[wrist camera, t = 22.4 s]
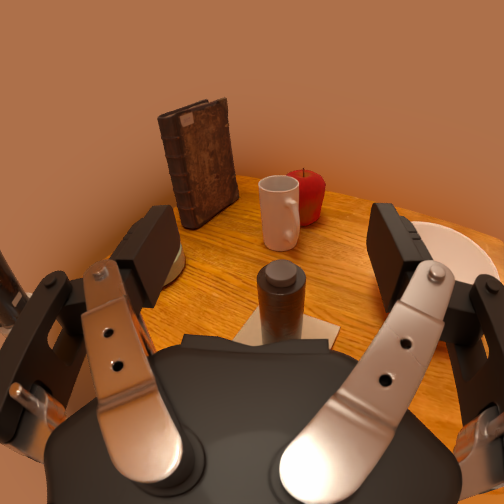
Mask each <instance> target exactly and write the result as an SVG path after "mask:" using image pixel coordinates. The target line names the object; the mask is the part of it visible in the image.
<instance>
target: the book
mask: <svg viewBox="0 0 504 504" xmlns="http://www.w3.org/2000/svg"><path fill="white" fill-rule="evenodd" d="M158 124H159V127H160V132H161V139H162V140H163V145H164V150H165V156H166V159H167V163H168V168H169V174H170V176H171V180H172V185H173V191H174V193H175V197H176V202H177V207H178V210H179V215H180V219H181V224H182V225H183V226H184V227H187V228H195V229H196V228H199V227H200V226H202V225H203V224H205V223H206V222H208V220H209V219H210V218H212V217H213V216H214V215H216V214H217V213H218V212H220V211H221V210H222V209H224V208H225V207H227V206H228V205H230V204H232V203H233V202H235V201H236V200H237V199H238V198H239V192H238V185H237V182H236V177H235V176H236V174H235V169H234V163H233V155H232V149H231V141H230V134H229V123H228V106H227V98H225V97H224V98H221V99H218V100H216V101H213V102H210V103H209V102H208V100H207V99H205V100H201V101H199V102H196V103H193V104H191V105H188V106H185V107H182V108H179V109H177V110H174V111H171V112H167V113H165V114H162V115H160V116H159V117H158Z"/></svg>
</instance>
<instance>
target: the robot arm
mask: <svg viewBox="0 0 504 504" xmlns="http://www.w3.org/2000/svg"><path fill="white" fill-rule="evenodd" d="M366 245H367V252H368V255H369V258H370V261H371V264H372V267H373V270H374V273H375V277H376V280H377V283H378V286H379V290H380V293H381V297H382V300H383V304H384V307H385V311H386V313H390V314H389V315H388V317H387V319H386V320H385V322H384V323H383V325H382V327H381V328H380V330H379V332H378V333H377V335H376V336H375V338H374V339H373V341H372V343H371V344H370V346H369V347H368V349H367V350H366V352H365V353H364V355H363V356H362V357H361V359H360V360H359V361H357V360H356V359H354V358H352V357H351V356H348V355H346V354H344V353H341V352H338V351H335V350H330V349H329V339H290V340H285V341H280V342H275V343H270V344H264V345H259V346H250V345H246V344H242V343H239V342H235V341H231V340H228V339H224V338H221V337H218V336H203V335H190V334H184V336H183V339H182V342H181V344H179V345H175V346H170V347H167V348H165V349H162V350H160V351H158V352H157V351H156V349H155V347H154V344H153V342H152V340H151V337H150V335H149V332H148V330H147V327H146V325H145V322H144V320H143V317H142V315H141V313H140V311H141V309H142V307H144V308H154V306H155V304H156V302H157V299H158V297H159V295H160V292H161V290H162V288H163V285H164V283H165V281H166V279H167V276H168V274H169V272H170V270H171V267H172V265H173V263H174V261H175V259H176V256H177V254H178V252H179V249H180V235H179V231H178V227H177V224H176V220H175V216H174V212H173V208H172V207H171V206H170V205H160V206H152V208H150V210H149V211H148V213H147V214H146V215H145V217H144V218H141V219H140V220H139V221H137V222H136V223H135V224H134V225H132V227H131V228H130V230H129V231H128V232H127V234H126V235H125V237H124V238H123V240H122V241H121V242H120V244H119V245H118V246H117V248H116V250H115V251H114V252H113V254H112V255H111V257H110V258H109V259H107V260H101V261H99V262H97V263H95V264H93V265H91V266H90V267H89V268H88V269H87V270H86V272H85V273H84V275H83V278H79V279H75V280H71V281H69V279H68V277H67V276H66V274H65V272H63V271H55V272H52V273H50V274H48V275H47V276H46V277H45V278H43V279H42V281H41V282H40V283H39V285H38V286H37V288H36V289H35V291H34V292H33V294H32V296H31V297H30V298H29V297H28V296H27V294H26V293H25V292H24V290H23V288H22V287H21V285H20V284H19V282H18V281H17V279H16V277H15V275H14V274H13V272H12V270H11V269H10V267H9V265H8V264H7V262H6V260H5V258H4V257H3V255H2V253H1V251H0V327H4V328H5V329H11V328H12V329H11V331H10V333H9V334H8V336H7V338H6V340H5V342H4V344H3V346H2V348H1V350H0V443H1V444H3V445H4V446H6V447H8V448H9V449H11V450H13V451H15V452H17V453H19V454H21V455H23V456H27V457H28V458H30V459H33V460H34V461H37V462H39V463H42V464H44V467H45V473H46V481H47V504H457V503H458V501H460V500H463V499H466V498H469V497H471V496H474V495H477V494H483V493H486V492H489V491H492V490H495V489H498V488H501V487H503V486H504V285H503V284H502V283H501V282H500V281H499V280H498V279H497V278H495V277H493V276H491V275H488V274H480V275H478V276H477V277H476V279H475V281H474V283H473V285H472V284H468V283H464V282H460V281H457V280H455V277H454V275H453V273H452V271H451V270H450V269H449V268H448V267H447V266H445V265H444V264H442V263H440V262H437V261H434V260H433V258H432V256H431V254H430V253H429V251H428V249H427V247H426V245H425V244H424V242H423V240H421V237H420V235H419V233H417V230H416V228H415V227H414V225H413V223H411V222H410V221H409V220H408V219H406V218H405V217H404V216H399V214H398V213H397V211H396V209H395V208H394V206H393V204H390V203H373V205H372V208H371V214H370V220H369V226H368V232H367V240H366ZM55 320H57V321H58V322H59V324H60V325H61V326H62V328H63V329H62V330H61V332H60V334H59V336H58V339H57V341H56V343H55V345H54V347H53V349H51V348H50V347H49V345H48V341H47V337H48V333H49V331H50V329H51V327H52V325H53V323H54V322H55ZM483 334H484V335H485V338H486V341H487V344H488V347H489V357H488V359H487V356H486V352H485V349H484V346H483V343H482V340H481V337H482V336H483ZM438 341H444V342H446V346H447V349H448V353H449V357H450V361H451V365H452V370H453V374H454V378H455V383H456V388H457V393H458V399H459V404H460V411H461V417H462V424H463V428H462V429H461V430H460V432H459V434H458V436H457V440H456V445H455V447H454V450H453V453H454V455H453V453H452V452H451V451H450V450H449V449H448V448H447V447H446V446H445V445H444V444H443V443H442V442H441V441H440V440H439V439H438V438H437V437H436V436H435V435H434V434H433V433H432V432H431V431H430V430H429V429H428V428H427V427H426V426H425V425H424V424H423V423H422V422H421V421H420V420H419V419H418V418H417V417H416V416H415V415H414V414H413V413H412V412H411V411H410V410H409V409H408V407H409V405H410V403H411V401H412V399H413V397H414V395H415V393H416V391H417V389H418V387H419V385H420V383H421V381H422V379H423V377H424V374H425V372H426V370H427V368H428V365H429V363H430V361H431V358H432V356H433V354H434V351H435V349H436V346H437V344H438ZM86 353H87V357H88V362H89V367H90V371H91V376H92V380H93V384H94V388H95V392H96V396H97V397H96V398H94V399H93V400H92V401H90V402H89V403H88V404H87V405H85V406H84V407H82V408H81V409H80V410H78V411H77V412H76V413H74V414H73V415H72V416H70V417H69V418H68V419H66V411H65V410H66V407H67V404H68V401H69V398H70V396H71V393H72V390H73V387H74V384H75V382H76V378H77V376H78V374H79V371H80V368H81V366H82V363H83V361H84V358H85V356H86Z"/></svg>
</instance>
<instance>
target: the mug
mask: <svg viewBox="0 0 504 504" xmlns="http://www.w3.org/2000/svg"><path fill="white" fill-rule="evenodd" d="M259 196H260V206H261V217H262V228H263V237H264V244H265V245H266V247H268V248H269V249H271V250H274V251H286V250H289V249H292V248H293V247H294V246H295V245H296V243H297V239H298V236H299V231H300V219H299V212H298V210H299V182H298V180H296V179H295V178H293V177H289V176H281V175H277V176H270V177H266V178H264V179H262V180H261V181H260V182H259Z"/></svg>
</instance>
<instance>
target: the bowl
mask: <svg viewBox="0 0 504 504" xmlns="http://www.w3.org/2000/svg"><path fill="white" fill-rule="evenodd" d="M411 223H413V225H414V227H415V228H416V230H417V233H419V235H420V237H421V240H423V242H424V244H425V245H426V247H427V249H428V251H429V253H430V254H431V256H432V258H433V260H434V261H437V262H440V263H442V264H444V265H445V266H447V267H448V268H449V269H450V270H451V271H452V273H453V275H454V277H455V280H457V281H460V282H464V283H468V284H472V285H473V283H474V281H475V279H476V277H477V276H478V275H480V274H488V275H491V276H493V277H495V278H497V279H498V280H499V281H500V278H499V275H498V272H497V269H496V267H495V265H494V264H493V262H492V260H491V259H490V258H489V256H488V255H487V254H486V252H485V251H484V250H483V249H482V248H481V247H479V246H478V245H477V244H476V243H475V242H473V241H472V240H471V239H469V238H468V237H466V236H464V235H463V234H461V233H459V232H457V231H455V230H453V229H451V228H448V227H445V226H442V225H438V224H434V223H429V222H411Z"/></svg>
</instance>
